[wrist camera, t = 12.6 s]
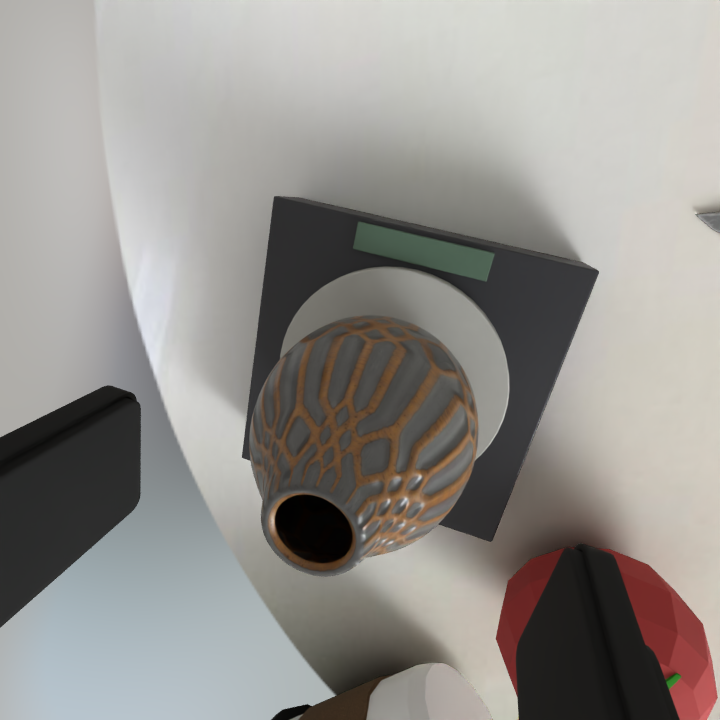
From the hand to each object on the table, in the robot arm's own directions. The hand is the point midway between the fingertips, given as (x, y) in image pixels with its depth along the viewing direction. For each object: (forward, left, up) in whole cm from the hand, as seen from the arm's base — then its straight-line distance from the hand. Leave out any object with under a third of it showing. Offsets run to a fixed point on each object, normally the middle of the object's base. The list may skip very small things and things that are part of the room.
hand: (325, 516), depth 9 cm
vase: (+1, 0, -9) cm, 9 cm away
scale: (+1, 0, -12) cm, 12 cm away
